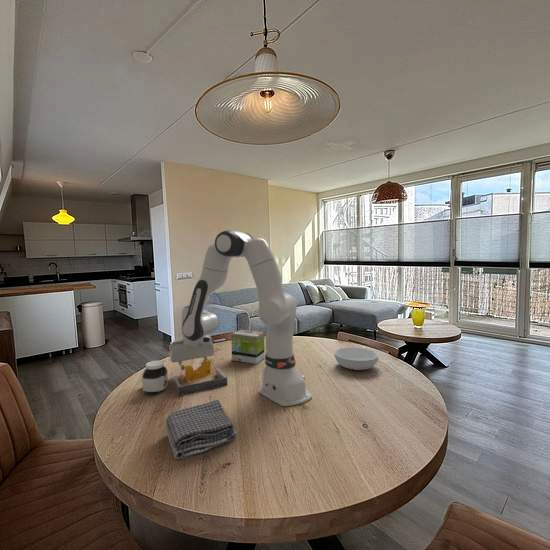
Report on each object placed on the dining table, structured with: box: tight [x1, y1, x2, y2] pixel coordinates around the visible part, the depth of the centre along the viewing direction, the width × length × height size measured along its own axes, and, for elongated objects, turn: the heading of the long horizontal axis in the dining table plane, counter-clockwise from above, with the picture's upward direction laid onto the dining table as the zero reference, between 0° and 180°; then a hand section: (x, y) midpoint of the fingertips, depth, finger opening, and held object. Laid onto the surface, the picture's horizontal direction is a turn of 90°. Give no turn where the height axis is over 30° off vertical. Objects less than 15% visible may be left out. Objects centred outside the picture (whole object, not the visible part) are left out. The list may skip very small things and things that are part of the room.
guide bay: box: [172, 367, 228, 396], centre depth 128 cm, size 13×20×3 cm, turn 118°
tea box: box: [230, 329, 265, 365], centre depth 157 cm, size 15×10×15 cm, turn 67°
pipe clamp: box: [184, 358, 212, 383], centre depth 136 cm, size 12×4×6 cm, turn 140°
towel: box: [165, 399, 237, 461], centre depth 90 cm, size 15×18×8 cm
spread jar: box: [140, 360, 169, 395], centre depth 123 cm, size 12×11×12 cm
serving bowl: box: [334, 346, 379, 371], centre depth 146 cm, size 21×21×7 cm
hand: (193, 367), depth 140 cm, fingers open, 8 cm apart
